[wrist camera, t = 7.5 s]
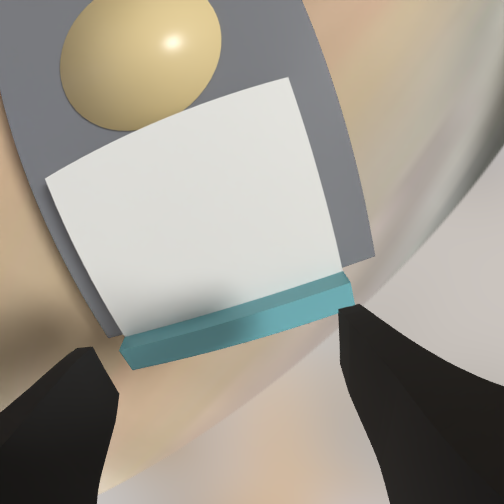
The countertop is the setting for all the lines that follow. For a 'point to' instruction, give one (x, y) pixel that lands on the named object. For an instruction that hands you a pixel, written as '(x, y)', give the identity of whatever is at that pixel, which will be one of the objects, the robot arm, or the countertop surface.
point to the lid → (206, 227)
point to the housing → (162, 91)
